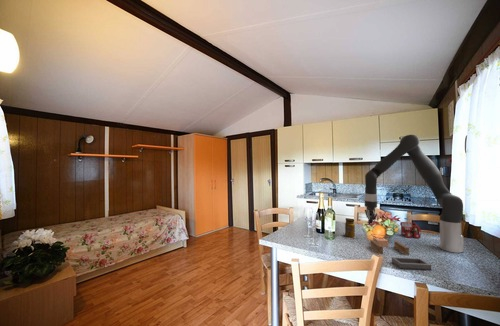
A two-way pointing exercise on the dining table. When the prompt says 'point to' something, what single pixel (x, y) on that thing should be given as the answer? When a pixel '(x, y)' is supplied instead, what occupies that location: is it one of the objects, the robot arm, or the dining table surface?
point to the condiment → (349, 229)
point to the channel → (397, 246)
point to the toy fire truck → (410, 230)
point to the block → (381, 242)
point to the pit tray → (411, 263)
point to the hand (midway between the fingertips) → (370, 224)
